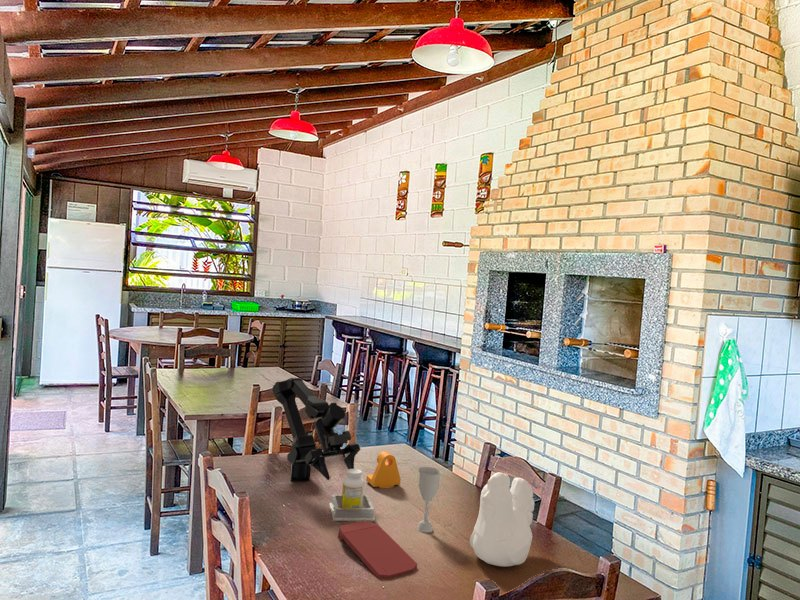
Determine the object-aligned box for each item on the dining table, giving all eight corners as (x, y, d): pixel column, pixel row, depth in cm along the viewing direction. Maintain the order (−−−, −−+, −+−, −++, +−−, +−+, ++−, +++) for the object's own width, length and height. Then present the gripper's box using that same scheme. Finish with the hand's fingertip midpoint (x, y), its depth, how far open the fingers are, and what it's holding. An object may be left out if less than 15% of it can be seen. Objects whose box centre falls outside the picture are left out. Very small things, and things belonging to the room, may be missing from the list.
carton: (416, 583, 153) (367, 531, 172) (420, 566, 152) (370, 516, 172) (378, 595, 145) (331, 539, 165) (382, 577, 145) (334, 523, 164)
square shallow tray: (333, 521, 177) (334, 509, 177) (329, 504, 190) (330, 493, 190) (375, 521, 180) (376, 509, 180) (368, 504, 192) (369, 494, 192)
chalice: (439, 527, 180) (444, 469, 179) (433, 535, 173) (438, 476, 173) (416, 522, 182) (421, 465, 181) (410, 530, 176) (415, 471, 175)
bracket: (391, 479, 219) (394, 448, 219) (400, 486, 212) (402, 454, 212) (365, 481, 214) (368, 449, 214) (373, 488, 208) (376, 455, 207)
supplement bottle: (346, 505, 189) (349, 466, 189) (365, 509, 187) (368, 470, 186) (337, 512, 183) (340, 471, 182) (356, 516, 180) (359, 475, 180)
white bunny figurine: (495, 581, 149) (505, 486, 149) (455, 554, 162) (463, 467, 161) (558, 560, 164) (567, 474, 163) (517, 538, 177) (524, 457, 176)
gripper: (311, 426, 189) (326, 470, 181) (359, 420, 200) (375, 461, 192) (298, 442, 195) (312, 486, 187) (345, 435, 207) (360, 476, 199)
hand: (341, 477), depth 191 cm, fingers open, 9 cm apart
